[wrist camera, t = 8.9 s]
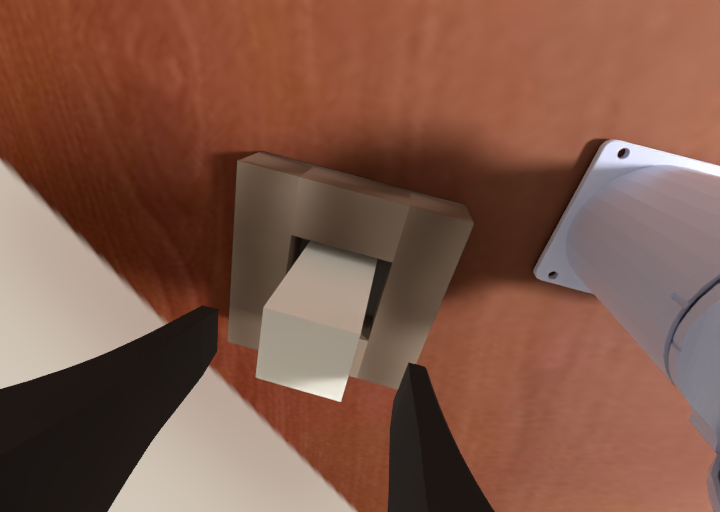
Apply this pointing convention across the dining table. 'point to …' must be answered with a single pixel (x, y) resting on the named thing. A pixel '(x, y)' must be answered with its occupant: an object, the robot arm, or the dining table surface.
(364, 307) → the peg
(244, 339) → the socket block
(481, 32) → the dining table surface
